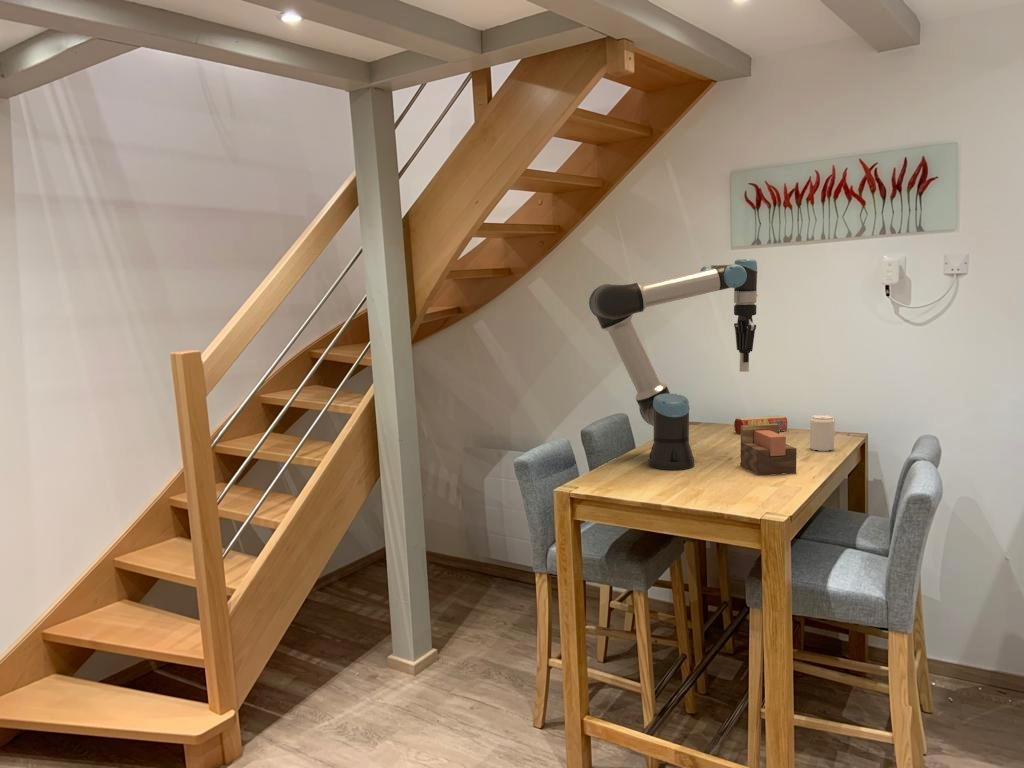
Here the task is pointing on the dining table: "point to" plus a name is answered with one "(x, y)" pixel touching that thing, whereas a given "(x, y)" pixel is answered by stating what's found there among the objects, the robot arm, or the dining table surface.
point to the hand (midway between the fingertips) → (744, 371)
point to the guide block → (765, 453)
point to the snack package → (760, 422)
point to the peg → (770, 441)
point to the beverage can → (822, 432)
